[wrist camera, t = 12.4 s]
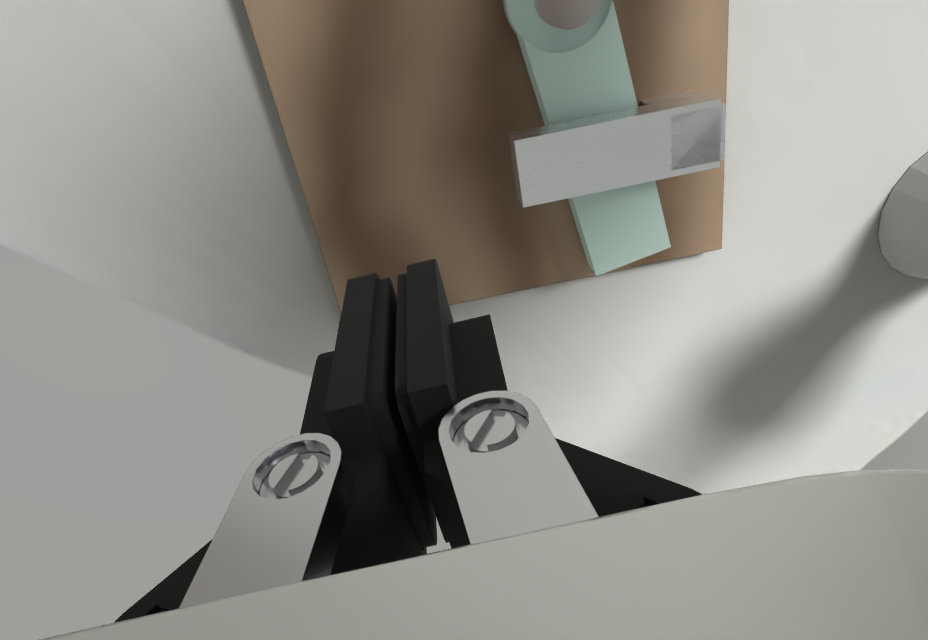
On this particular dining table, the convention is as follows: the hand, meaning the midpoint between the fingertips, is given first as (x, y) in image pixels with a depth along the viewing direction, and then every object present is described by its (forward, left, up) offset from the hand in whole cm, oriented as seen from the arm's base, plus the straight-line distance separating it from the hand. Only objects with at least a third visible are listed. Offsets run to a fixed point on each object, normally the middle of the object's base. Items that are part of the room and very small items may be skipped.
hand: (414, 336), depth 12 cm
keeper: (-9, +2, -21) cm, 23 cm away
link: (-9, +1, -20) cm, 22 cm away
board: (-5, 0, -21) cm, 22 cm away
